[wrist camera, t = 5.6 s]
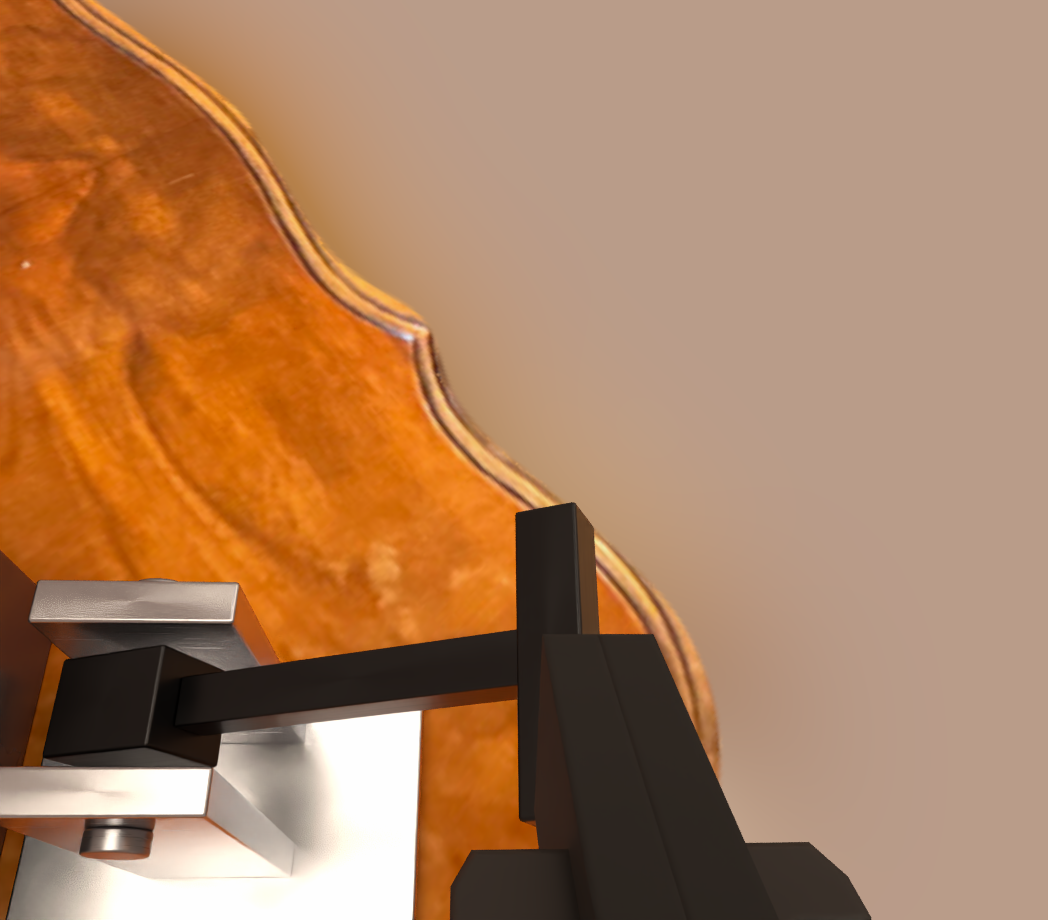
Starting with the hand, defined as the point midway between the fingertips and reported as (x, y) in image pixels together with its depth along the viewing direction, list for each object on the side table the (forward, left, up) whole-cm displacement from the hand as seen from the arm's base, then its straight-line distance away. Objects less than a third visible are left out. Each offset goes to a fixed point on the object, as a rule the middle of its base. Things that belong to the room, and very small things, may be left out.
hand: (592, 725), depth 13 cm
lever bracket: (+9, +3, -20) cm, 22 cm away
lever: (+5, 0, -8) cm, 10 cm away
